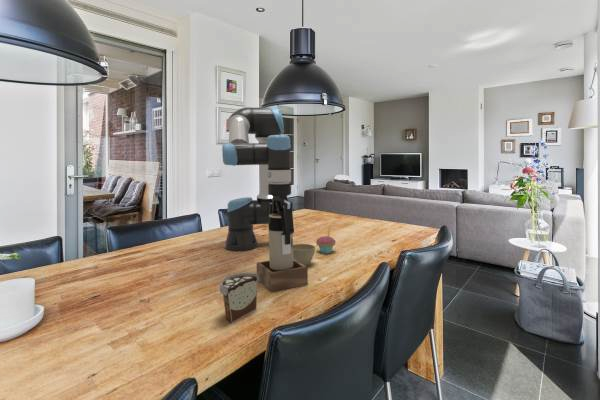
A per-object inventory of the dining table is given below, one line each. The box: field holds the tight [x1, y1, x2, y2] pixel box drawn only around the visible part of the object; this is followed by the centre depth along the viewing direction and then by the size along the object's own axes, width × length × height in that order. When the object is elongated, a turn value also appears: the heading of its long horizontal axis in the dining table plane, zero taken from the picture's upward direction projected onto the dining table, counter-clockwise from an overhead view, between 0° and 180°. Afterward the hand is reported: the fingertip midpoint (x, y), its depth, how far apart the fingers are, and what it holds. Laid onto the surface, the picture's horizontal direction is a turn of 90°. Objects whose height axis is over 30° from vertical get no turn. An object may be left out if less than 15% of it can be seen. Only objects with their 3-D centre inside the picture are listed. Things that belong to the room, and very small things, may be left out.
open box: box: [256, 259, 309, 293], centre depth 112 cm, size 13×13×6 cm
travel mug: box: [267, 214, 294, 271], centre depth 110 cm, size 8×8×18 cm
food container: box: [219, 272, 260, 324], centre depth 89 cm, size 12×6×10 cm, turn 145°
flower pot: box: [293, 243, 316, 267], centre depth 130 cm, size 10×10×7 cm
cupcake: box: [315, 226, 336, 254], centre depth 146 cm, size 9×8×12 cm
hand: (281, 250), depth 111 cm, fingers closed on travel mug, 8 cm apart
